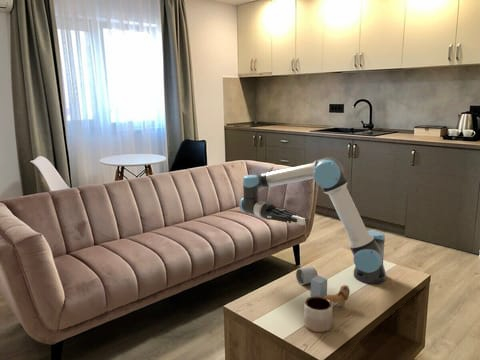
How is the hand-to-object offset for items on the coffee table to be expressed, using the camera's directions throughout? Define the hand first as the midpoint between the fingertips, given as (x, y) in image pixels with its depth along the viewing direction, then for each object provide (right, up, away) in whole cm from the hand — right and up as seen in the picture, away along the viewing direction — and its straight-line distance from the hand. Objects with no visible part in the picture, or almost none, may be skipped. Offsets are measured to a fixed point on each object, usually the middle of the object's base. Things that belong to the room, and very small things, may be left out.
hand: (304, 221), depth 172 cm
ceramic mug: (+3, -31, +18) cm, 36 cm away
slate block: (+7, -35, +1) cm, 35 cm away
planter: (+3, -39, -17) cm, 43 cm away
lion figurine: (+12, -36, -5) cm, 39 cm away
